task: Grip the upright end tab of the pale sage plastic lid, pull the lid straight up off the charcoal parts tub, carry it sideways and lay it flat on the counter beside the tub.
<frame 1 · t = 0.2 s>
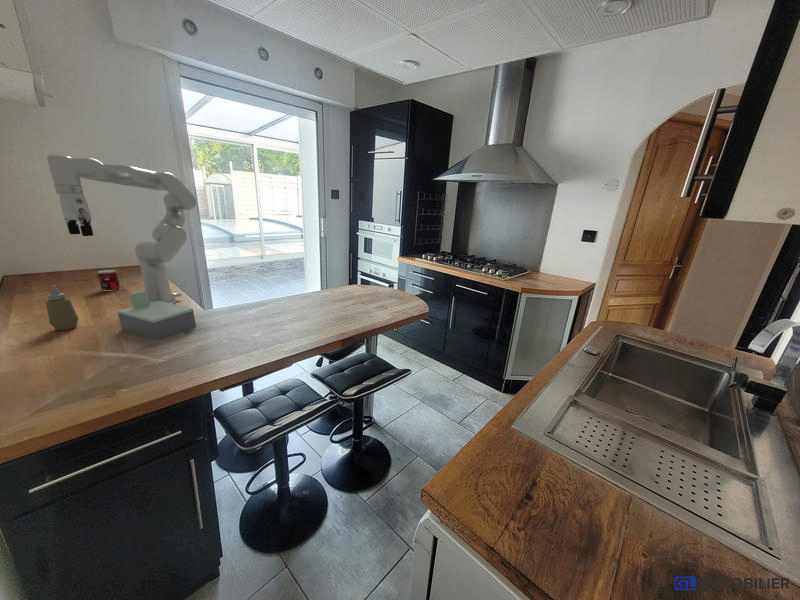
hand: (81, 235, 125), 36 cm above the countertop, tool pointing down, fingers open, 9 cm apart
canned food: (111, 290, 177), on the countertop
squeeze bottle: (66, 328, 125), on the countertop
tub: (160, 330, 126), on the countertop
steel block B: (145, 328, 125), point 1 cm above the countertop, touching tub
lid: (156, 313, 124), point 7 cm above the countertop, touching tub
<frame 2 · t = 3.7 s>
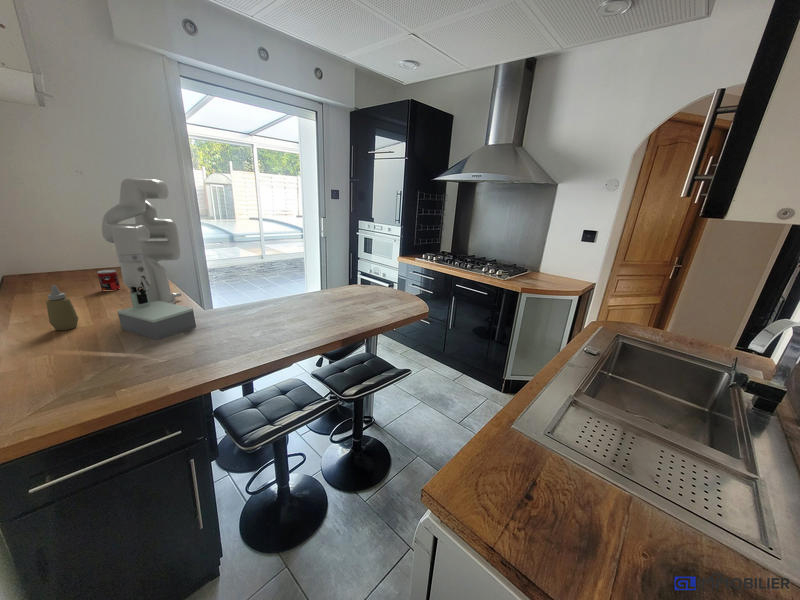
hand: (141, 302, 126), 11 cm above the countertop, tool pointing down, fingers closed on lid
lid: (156, 313, 124), point 7 cm above the countertop, touching gripper, tub
everything else where it was.
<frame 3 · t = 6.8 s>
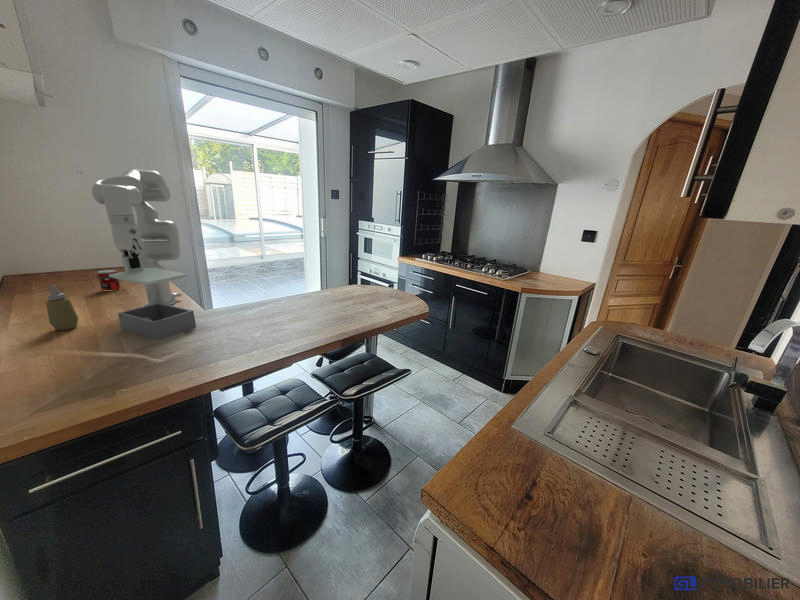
hand: (133, 267, 122), 25 cm above the countertop, tool pointing down, fingers closed on lid
lid: (149, 278, 120), point 22 cm above the countertop, touching gripper
everything else where it was.
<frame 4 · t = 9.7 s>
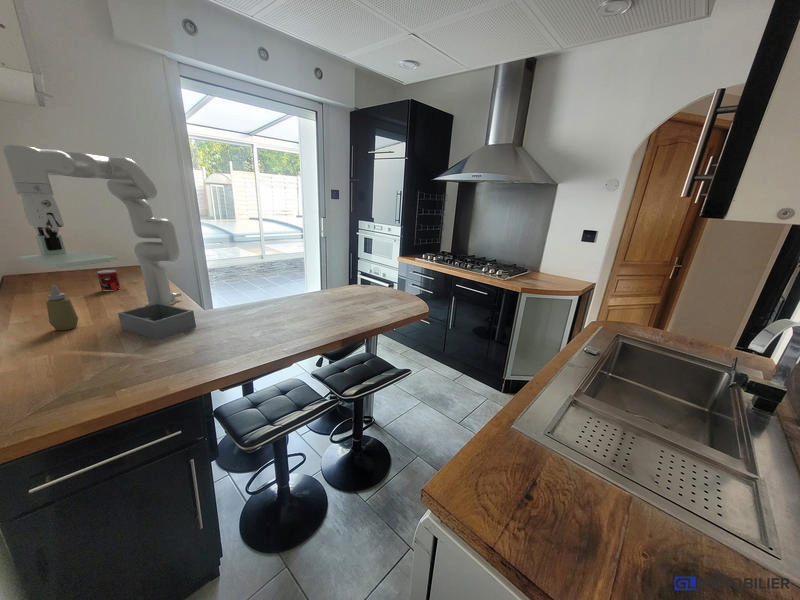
hand: (52, 249, 101), 35 cm above the countertop, tool pointing down, fingers closed on lid
lid: (70, 261, 98), point 32 cm above the countertop, touching gripper
everything else where it was.
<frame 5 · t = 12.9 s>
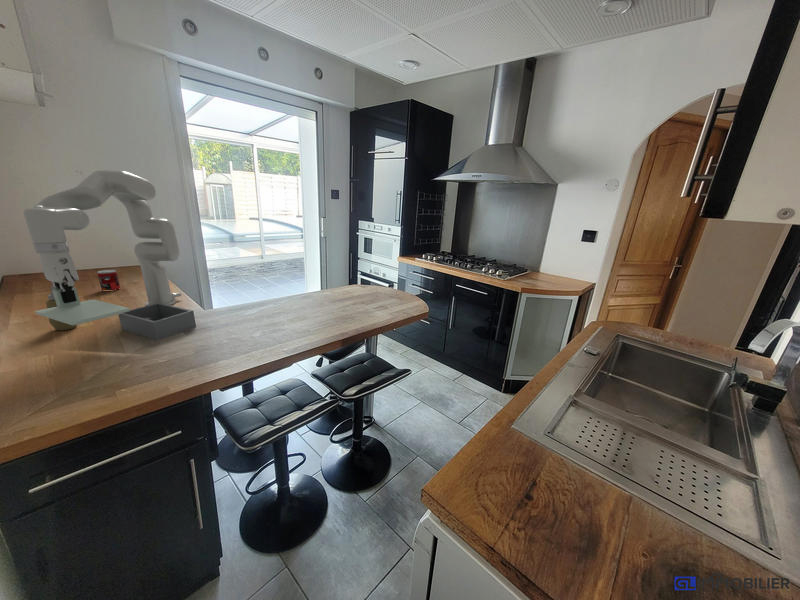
hand: (67, 301, 106), 17 cm above the countertop, tool pointing down, fingers closed on lid
lid: (85, 314, 103), point 14 cm above the countertop, touching gripper
everything else where it was.
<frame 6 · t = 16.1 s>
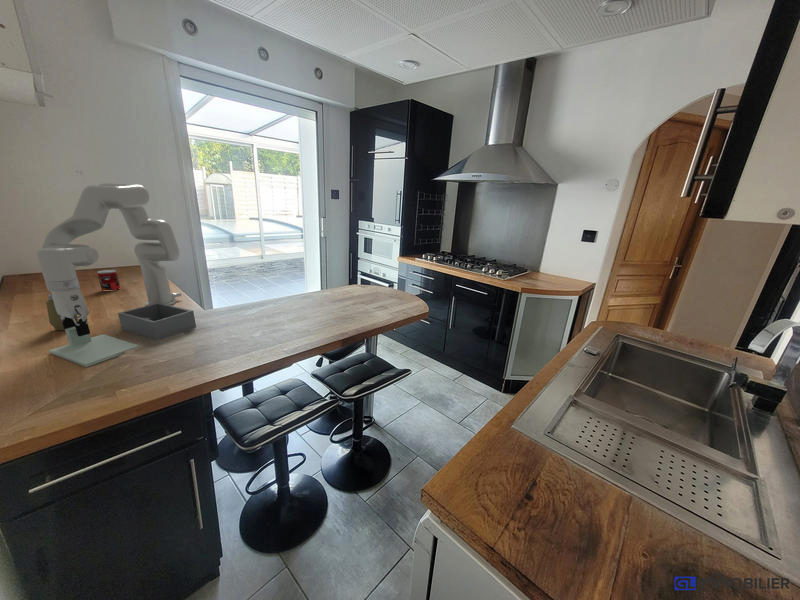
hand: (77, 332, 109), 5 cm above the countertop, tool pointing down, fingers open, 7 cm apart
lid: (96, 351, 108), on the countertop
everything else where it was.
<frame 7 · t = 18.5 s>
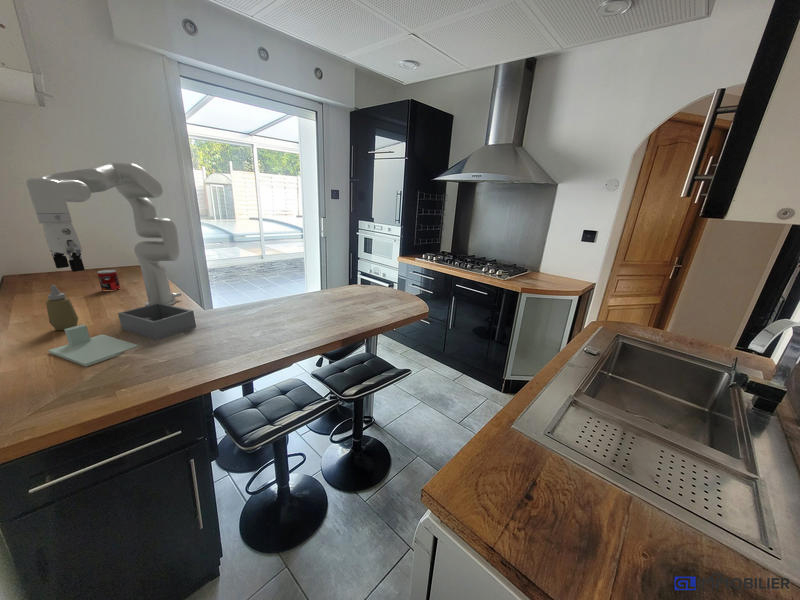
hand: (70, 269, 107), 27 cm above the countertop, tool pointing down, fingers open, 9 cm apart
nothing on the countertop moved.
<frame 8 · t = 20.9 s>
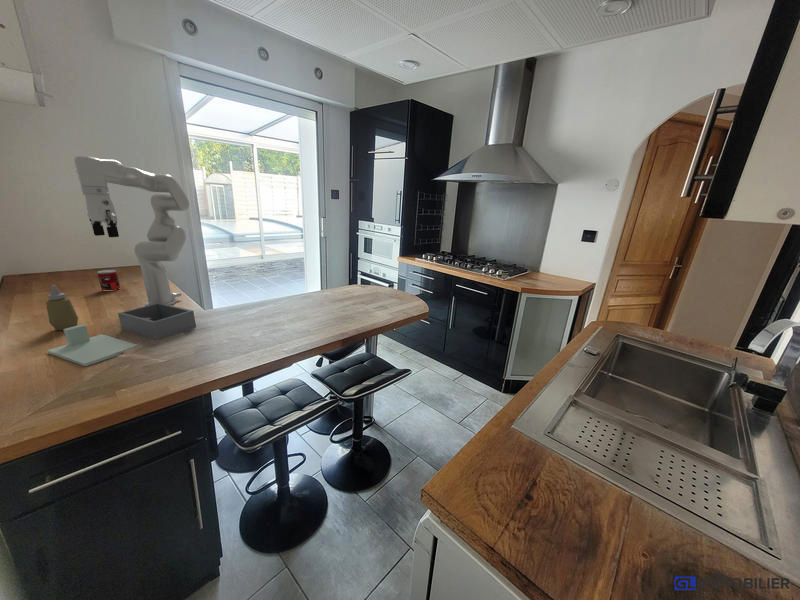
hand: (106, 236, 125), 36 cm above the countertop, tool pointing down, fingers open, 9 cm apart
nothing on the countertop moved.
at the end: lid inside the target area (1.5 cm from its centre), on the countertop; lid touching countertop; the gripper is holding nothing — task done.
